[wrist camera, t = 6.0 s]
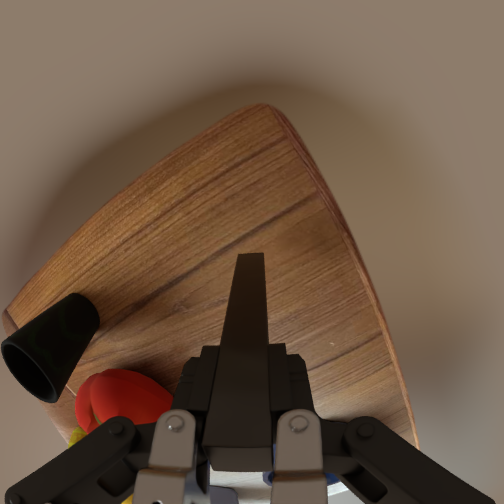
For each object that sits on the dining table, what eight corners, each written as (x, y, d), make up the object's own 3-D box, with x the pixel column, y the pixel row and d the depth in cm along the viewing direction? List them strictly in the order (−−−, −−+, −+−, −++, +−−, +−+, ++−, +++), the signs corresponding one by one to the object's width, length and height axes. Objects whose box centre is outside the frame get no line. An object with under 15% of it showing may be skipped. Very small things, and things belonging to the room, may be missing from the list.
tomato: (209, 389, 31) (199, 454, 21) (161, 433, 35) (147, 480, 26) (110, 330, 28) (71, 385, 19) (84, 388, 33) (59, 432, 23)
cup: (118, 326, 28) (69, 397, 17) (86, 346, 29) (43, 407, 18) (77, 273, 26) (10, 329, 14) (50, 301, 27) (-6, 353, 16)
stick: (263, 252, 21) (273, 446, 6) (265, 275, 22) (274, 472, 7) (237, 253, 21) (200, 445, 6) (240, 277, 22) (212, 471, 7)
